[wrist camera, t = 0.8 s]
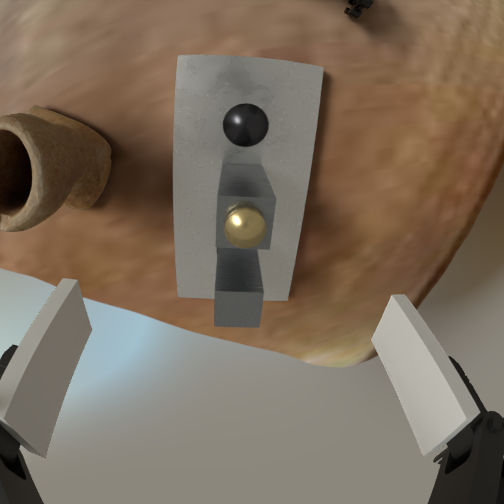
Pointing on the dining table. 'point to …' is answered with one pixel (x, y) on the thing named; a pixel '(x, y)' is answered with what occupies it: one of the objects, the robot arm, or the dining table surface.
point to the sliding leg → (244, 208)
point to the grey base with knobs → (241, 153)
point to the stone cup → (48, 167)
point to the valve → (357, 7)
